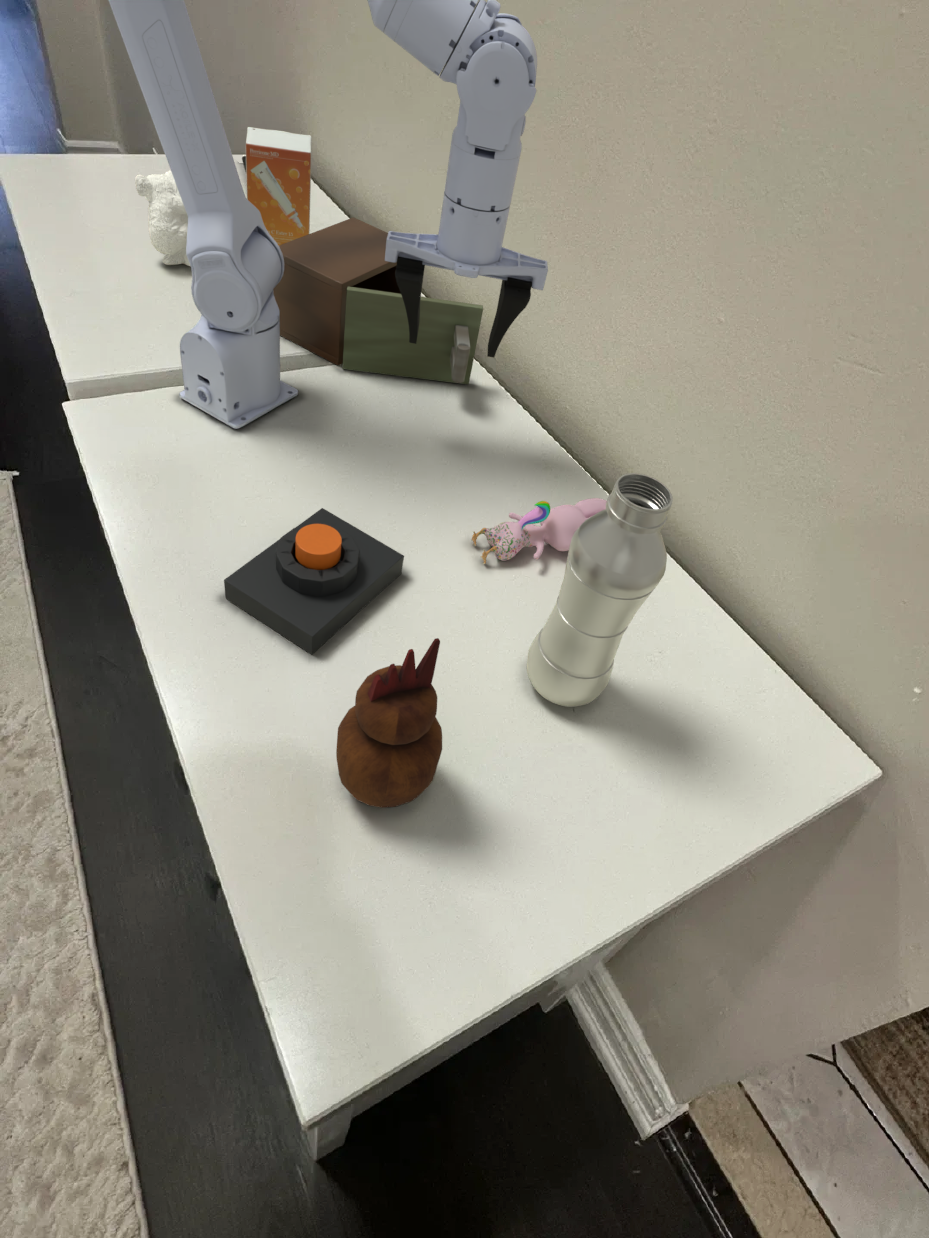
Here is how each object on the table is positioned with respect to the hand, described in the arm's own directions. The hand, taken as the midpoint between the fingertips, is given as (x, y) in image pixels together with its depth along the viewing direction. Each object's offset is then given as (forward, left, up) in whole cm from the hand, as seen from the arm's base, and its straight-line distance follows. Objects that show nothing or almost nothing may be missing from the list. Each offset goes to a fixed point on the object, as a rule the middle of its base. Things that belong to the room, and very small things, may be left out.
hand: (452, 345), depth 75 cm
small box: (+20, +40, -10) cm, 46 cm away
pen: (+32, +56, -9) cm, 65 cm away
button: (-26, -5, -6) cm, 27 cm away
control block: (-26, -5, -10) cm, 28 cm away
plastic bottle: (-22, -27, -10) cm, 36 cm away
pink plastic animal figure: (-8, -18, -10) cm, 22 cm away
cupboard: (+9, +20, -10) cm, 25 cm away
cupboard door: (+4, +7, -10) cm, 13 cm away
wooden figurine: (-38, -21, -10) cm, 44 cm away
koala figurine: (+6, +44, -10) cm, 46 cm away
